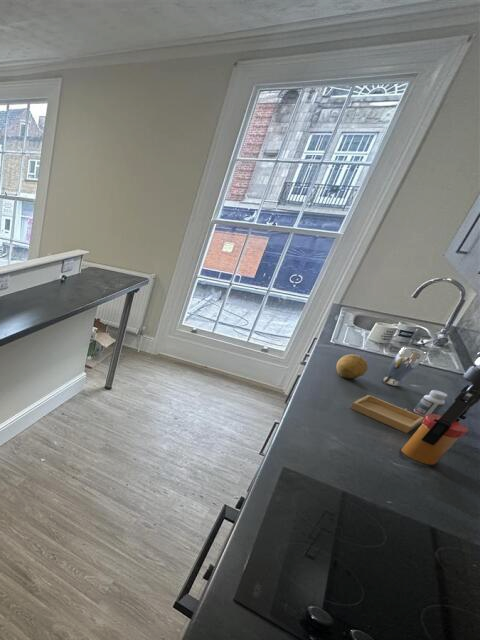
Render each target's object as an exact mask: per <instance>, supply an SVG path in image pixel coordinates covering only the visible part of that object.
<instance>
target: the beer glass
mask: <svg viewBox="0 0 480 640" xmlns="http://www.w3.org/2000/svg"><path fill="white" fill-rule="evenodd" d="M425 356H426V351H424V350H421V349H419V348H416V347H412V346H403V347H402V348H401V349H400V350H399V351H398V353H397V354H396V355H395V357H394V358H393V360H392V362H391V364H390V366H389V369H388V371H387V372H386V374H385V375H384V376H383V377H382V378H381V379H380V381H381V380H382V381H383V382H385V383H388V384H390V385H394V386H400V387H401V386H402V383H403V381H404V380H405V379H406V377H408V376H409V375H410V374H411V373H412V372H413V371H414V370H415V369H416V368H417V367H418V366H419V364H421V362H422V361H423V359H424V357H425ZM382 381H381V382H382ZM383 382H382V383H383ZM385 383H384V384H385ZM390 385H389V386H390ZM394 386H393V387H394Z"/></svg>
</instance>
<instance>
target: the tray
mask: <svg viewBox="0 0 480 640" xmlns="http://www.w3.org/2000/svg"><path fill="white" fill-rule="evenodd" d="M349 409H351V410H353V411H356V412H358V413H359V414H362V415H364V416H367V417H369V418H371V419H374V420H376V421H378V422H380V423H382V424H384V425H386V426H389V427H392V428H394V429H396V430H398V431H401V432H403V433H405V434H408V433H409V432H410V431H412V430H413V429H415V428H416V427H417V426H419V425H420V424H422V423H423V422H422V420H423V419H424V418H425V417H424V416H421V415H419V414H417V413H415V412H413V411H409V410H407V409H404V408H403V407H400V406H397V405H395V404H392V403H390V402H387V401H385V400H384V399H383V400H382V399H380V398H378V397H376V396H373V395H371V394H367V395H365V396H363V397H362V398H359V399H357V400H356V401H354V402H352V404H351V405H350V406H349Z"/></svg>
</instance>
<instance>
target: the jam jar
mask: <svg viewBox="0 0 480 640" xmlns="http://www.w3.org/2000/svg"><path fill="white" fill-rule="evenodd" d="M429 430H430V428H429V427H427V426H426V425H424V424H423V423H421V425H420V426H419V427H418V428H417V430H416V431H415V432H414V433H413V434H412V436H411V437H410V438H409V439H407V441H406V443H405V444H403V446H402V448H401V452H402V453H403V454H404V455H405V456H406V457H409V458H410V459H412V460H414V461H416V462H419V463H422V464H426V465H432V466H433V465H436V464H438V462H439V461H440V459H442V458H443V456H444V455H445V454H446V453H447V452H448V451H449V450H450V448H452V447H453V446H454V444H455V443H456V442H457V441H458V440H459V439H460V438H457V437H451V436H447V435H443V436H442V437H441V438H440V439H439V441H438V442H437V443H436V444H435V445H434V446H433V445H431V444H429V443H427V442H424V441H422V438H423V437H424V436H425V435H426V434H427V433H428V431H429Z"/></svg>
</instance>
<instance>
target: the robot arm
mask: <svg viewBox="0 0 480 640" xmlns="http://www.w3.org/2000/svg"><path fill="white" fill-rule="evenodd" d="M476 355H477V356H478V358H477V359H476V360H475V361H474V364H473V365H470V367H468V369H467V370H466V371H465V372H464V374H463V376H462V378H463V379H464V380H465V381H467V382H469V383H471V385H469V384H466V386H464V387H463V388H462V389H461V390H460V393H459V394H458V396H456V398H455V399H454V401H453V403H452V404H451V405H450V406H449V407H448V408H447V410H446V411H445V412H444V413H443V414H442V415H441V418H440V419H438V420H437V419H435V420H434V421H435V422H436V423H435V425H434V426H433V427H432V428H431V429H430V430H429V431H428V433H427V434H426V435H425V436H424V437H423V438H422V441H424V442H427V443H429V444H431V445H433V446H434V445H435V444H436V443H437V442H438V441H439V439H440V438H441V437H442V436H443V435H444V434H445V433H446V432H447V431H448V429H449V428H450V427H451V426H452V424H453V423H454V422H455V421H457V422H460V420H463V421H464V420H466V419H467V416H466V414H467V412H468V411H470V409H471V408H472V407H473V406H474V405H476V404H478V402H479V401H480V352H478V353H476ZM443 419H444V420H443ZM445 420H446V421H445ZM448 421H449V422H448Z"/></svg>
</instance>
